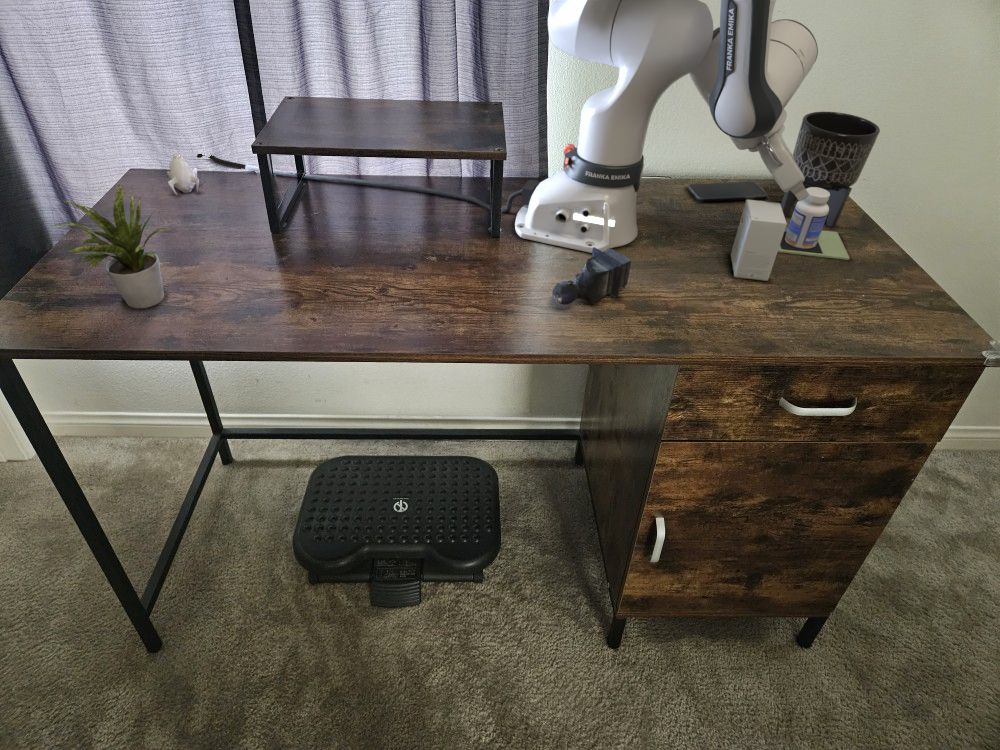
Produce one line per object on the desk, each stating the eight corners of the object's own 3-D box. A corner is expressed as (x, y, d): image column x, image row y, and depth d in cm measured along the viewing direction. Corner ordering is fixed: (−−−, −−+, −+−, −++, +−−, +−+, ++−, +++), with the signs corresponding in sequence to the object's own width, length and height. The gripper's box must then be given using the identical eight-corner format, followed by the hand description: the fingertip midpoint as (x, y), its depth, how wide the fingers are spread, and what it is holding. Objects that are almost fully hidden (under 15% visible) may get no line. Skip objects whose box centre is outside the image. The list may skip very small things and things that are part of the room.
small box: (767, 282, 107) (788, 224, 100) (733, 277, 108) (750, 219, 101) (762, 258, 113) (781, 202, 106) (729, 254, 114) (746, 198, 107)
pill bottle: (816, 239, 118) (836, 189, 112) (814, 252, 114) (834, 201, 108) (785, 233, 119) (803, 182, 113) (782, 245, 116) (800, 194, 109)
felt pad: (766, 251, 115) (767, 248, 115) (759, 225, 123) (760, 222, 122) (849, 260, 113) (850, 257, 113) (836, 233, 121) (837, 231, 121)
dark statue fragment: (541, 302, 100) (545, 266, 96) (600, 276, 107) (606, 240, 103) (571, 322, 96) (575, 285, 92) (630, 293, 103) (637, 257, 99)
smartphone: (686, 183, 134) (754, 180, 136) (685, 188, 135) (753, 184, 137) (699, 199, 129) (770, 195, 130) (698, 203, 129) (769, 199, 131)
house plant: (93, 279, 101) (50, 179, 91) (188, 264, 105) (157, 167, 95) (86, 330, 91) (37, 224, 81) (192, 311, 95) (157, 208, 85)
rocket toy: (171, 187, 127) (159, 147, 122) (201, 183, 129) (189, 144, 124) (172, 198, 123) (159, 157, 118) (203, 194, 125) (191, 154, 120)
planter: (856, 220, 126) (895, 128, 114) (816, 236, 120) (853, 141, 109) (799, 195, 134) (830, 107, 122) (759, 209, 128) (788, 118, 116)
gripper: (786, 131, 97) (830, 199, 102) (763, 92, 112) (802, 153, 118) (747, 158, 100) (792, 222, 105) (730, 116, 116) (770, 174, 121)
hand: (797, 185), depth 112 cm, fingers open, 8 cm apart
